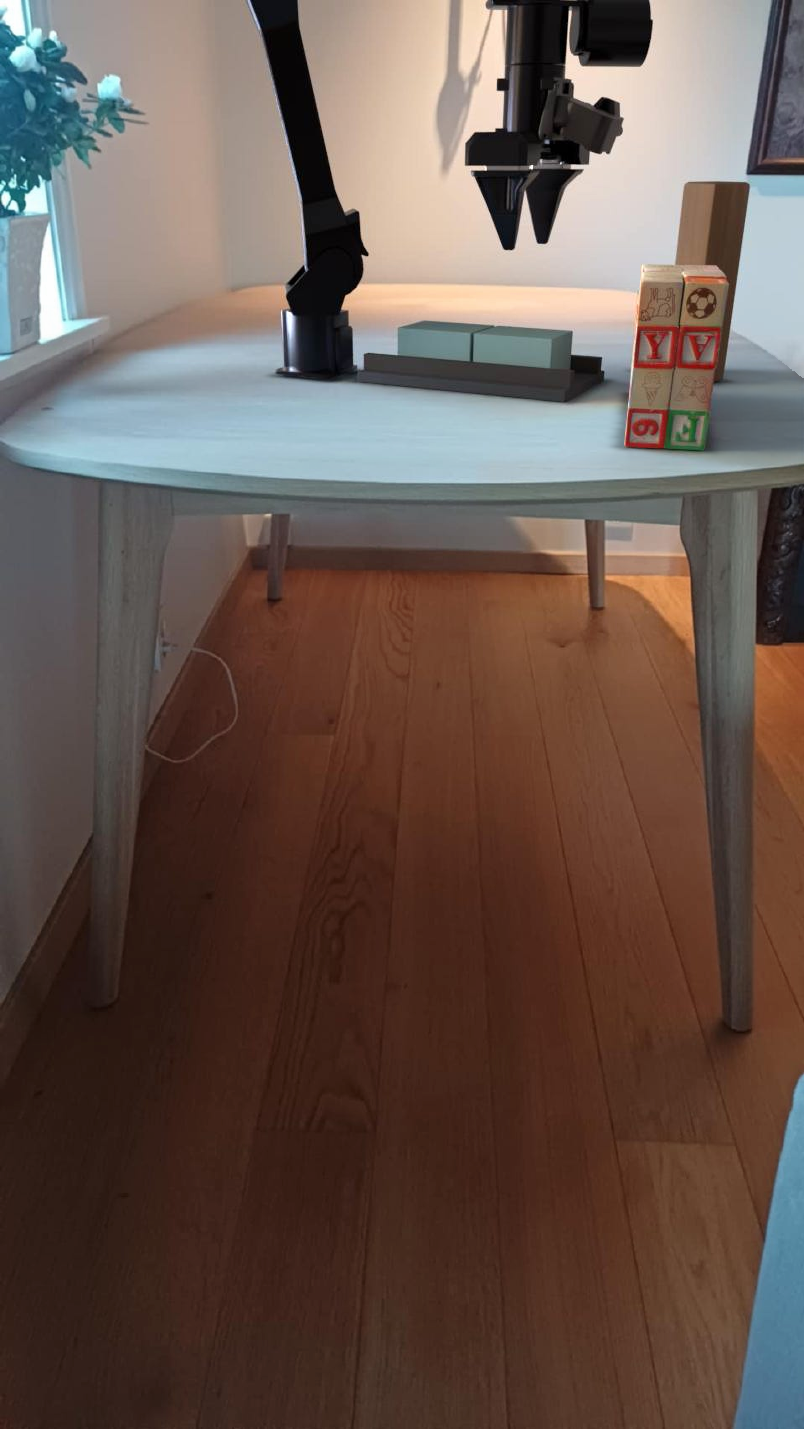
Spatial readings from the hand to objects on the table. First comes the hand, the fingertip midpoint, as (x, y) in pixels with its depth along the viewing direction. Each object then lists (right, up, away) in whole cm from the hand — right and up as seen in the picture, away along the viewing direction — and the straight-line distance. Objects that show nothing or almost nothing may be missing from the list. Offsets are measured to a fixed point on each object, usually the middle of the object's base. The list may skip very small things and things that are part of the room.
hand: (526, 247), depth 106 cm
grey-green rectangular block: (-1, -14, -2) cm, 14 cm away
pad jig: (-5, -14, 0) cm, 14 cm away
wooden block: (+16, -13, +2) cm, 20 cm away
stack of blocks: (+10, -22, -16) cm, 29 cm away
